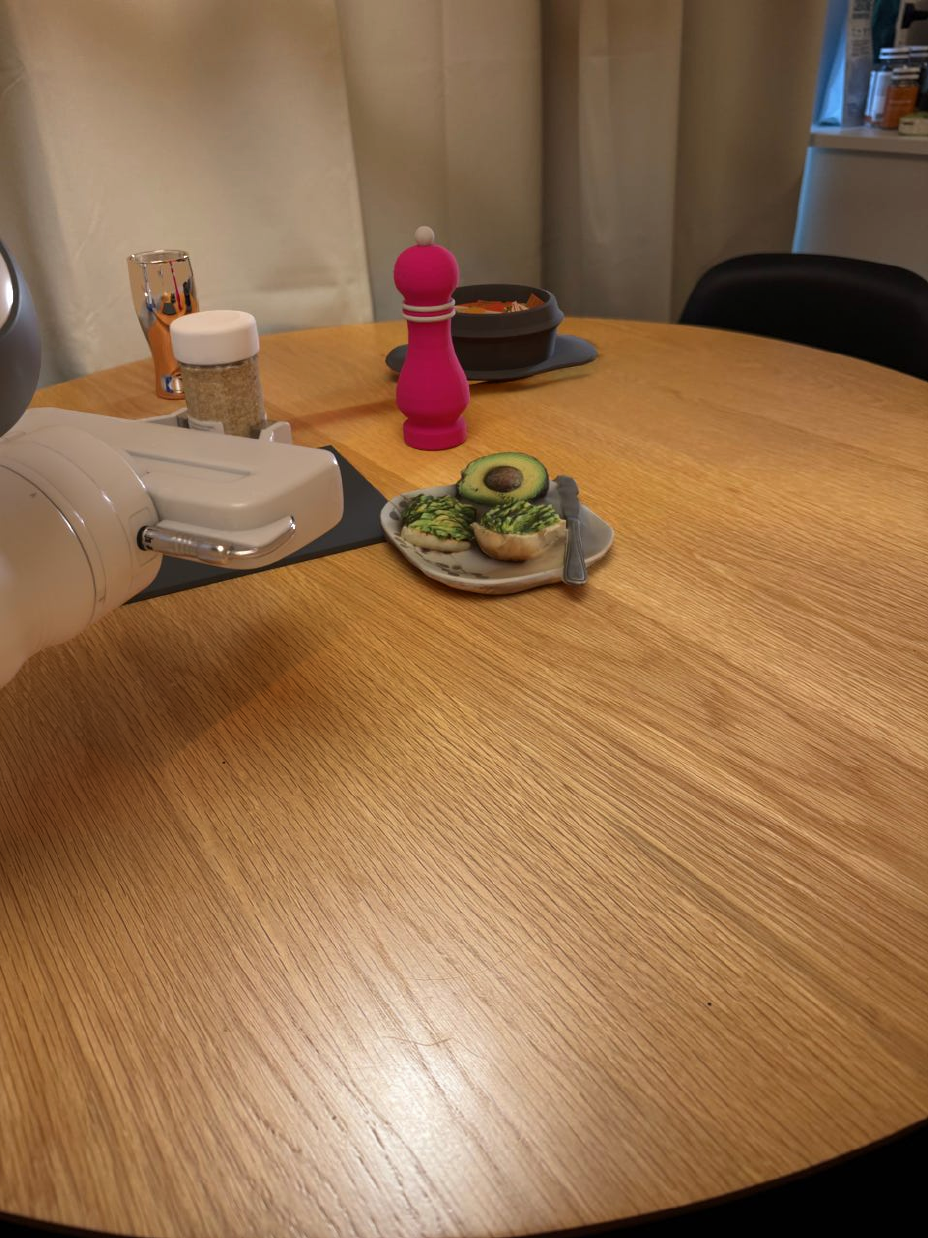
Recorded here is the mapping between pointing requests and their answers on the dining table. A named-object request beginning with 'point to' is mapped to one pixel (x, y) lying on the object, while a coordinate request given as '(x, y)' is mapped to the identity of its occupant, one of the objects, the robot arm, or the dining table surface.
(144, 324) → the beer glass
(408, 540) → the avocado toast plate
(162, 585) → the slate mat
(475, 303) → the casserole
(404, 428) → the pepper mill
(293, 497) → the robot arm
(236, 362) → the spice jar
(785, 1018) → the dining table surface
